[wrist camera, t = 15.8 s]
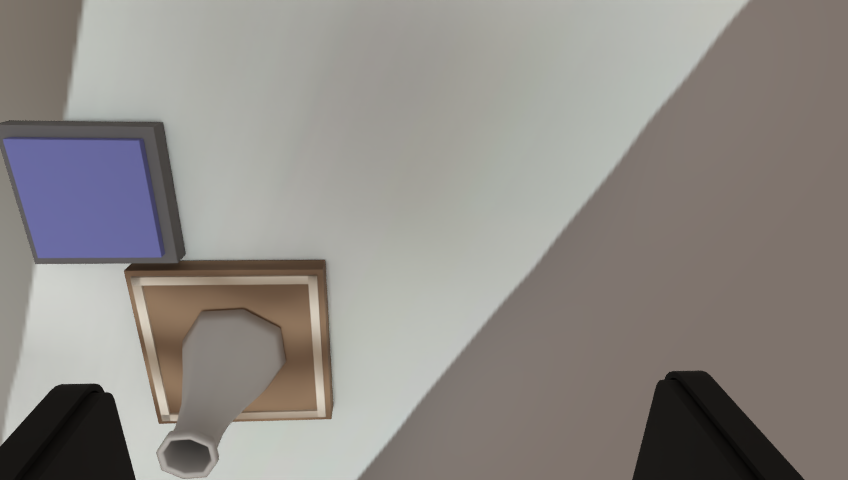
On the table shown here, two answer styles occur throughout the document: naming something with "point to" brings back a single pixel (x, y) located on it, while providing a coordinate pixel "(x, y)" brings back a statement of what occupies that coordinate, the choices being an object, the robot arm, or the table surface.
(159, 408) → the marked board
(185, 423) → the flask
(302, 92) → the table surface
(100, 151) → the ink pad
